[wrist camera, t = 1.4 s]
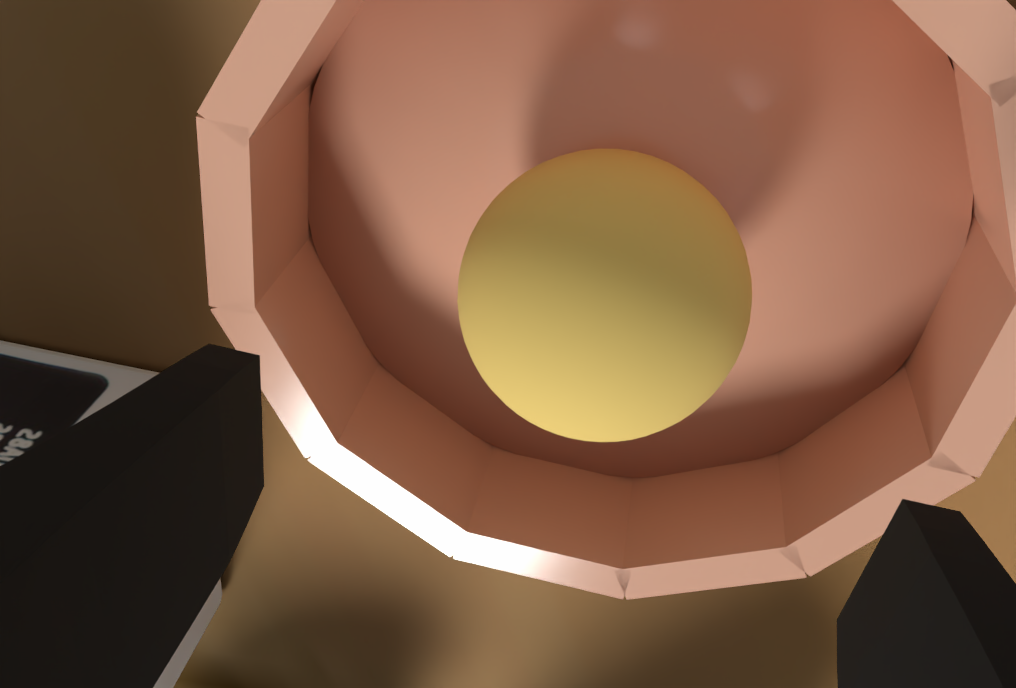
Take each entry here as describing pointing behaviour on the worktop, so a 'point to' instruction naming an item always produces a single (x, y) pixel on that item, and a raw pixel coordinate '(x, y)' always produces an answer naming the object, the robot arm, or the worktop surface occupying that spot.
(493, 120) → the bowl
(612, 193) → the ball
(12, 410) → the container
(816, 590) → the worktop surface
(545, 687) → the worktop surface
